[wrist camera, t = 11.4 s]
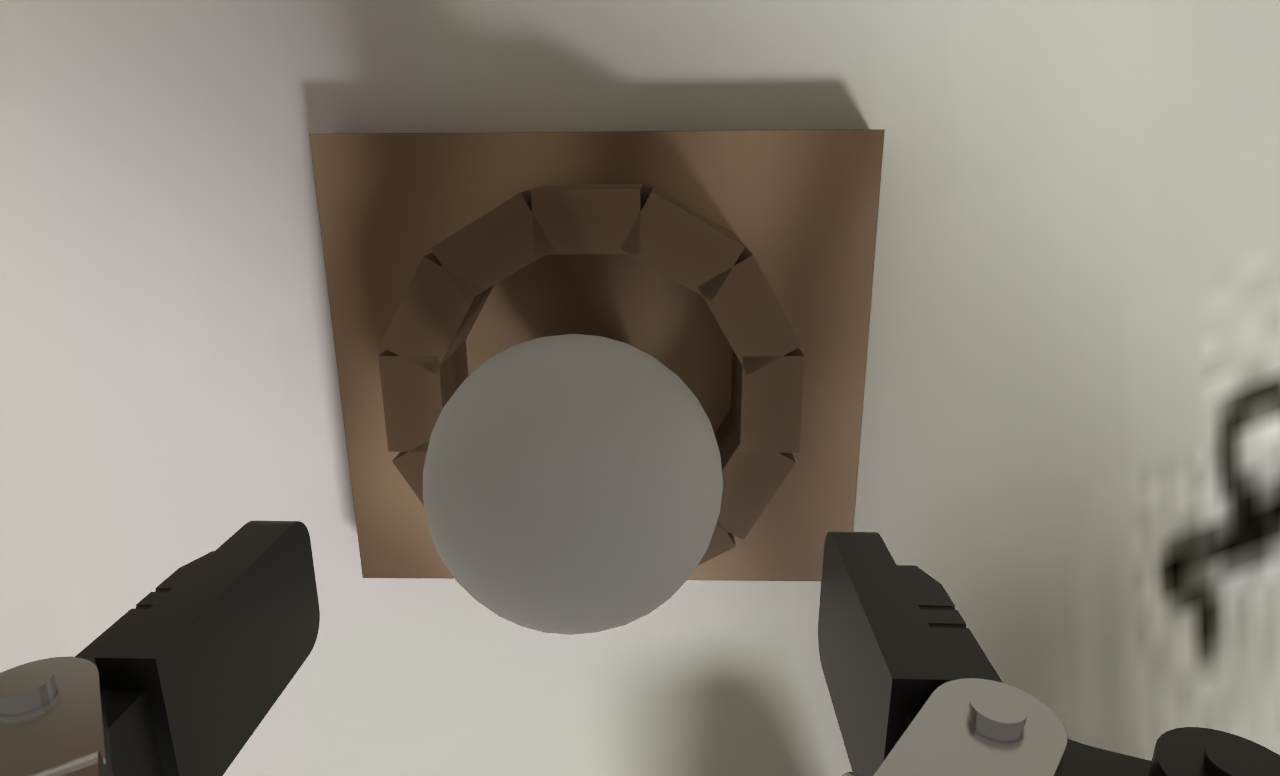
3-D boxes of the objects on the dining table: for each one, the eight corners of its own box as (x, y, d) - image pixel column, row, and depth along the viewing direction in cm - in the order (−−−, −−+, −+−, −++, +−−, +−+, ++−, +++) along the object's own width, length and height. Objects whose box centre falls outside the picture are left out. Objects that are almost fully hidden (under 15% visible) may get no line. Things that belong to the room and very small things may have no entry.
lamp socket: (870, 130, 23) (918, 126, 19) (839, 558, 27) (872, 635, 23) (330, 134, 24) (257, 132, 19) (378, 555, 28) (326, 630, 24)
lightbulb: (478, 299, 24) (330, 421, 13) (681, 256, 23) (697, 345, 13) (530, 486, 25) (435, 727, 15) (720, 449, 25) (763, 672, 14)
